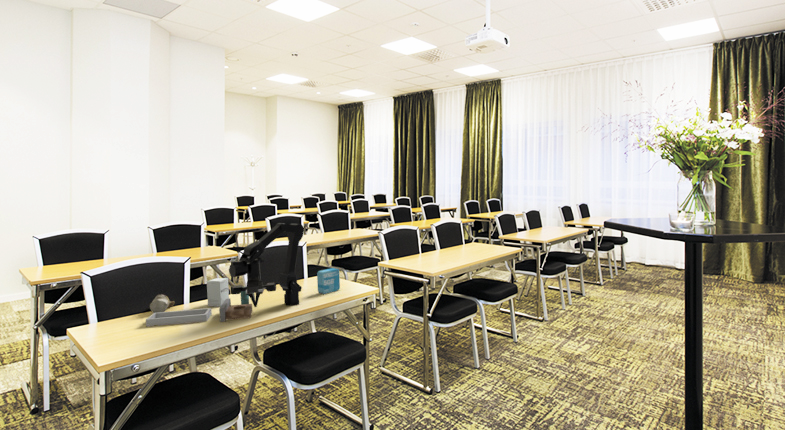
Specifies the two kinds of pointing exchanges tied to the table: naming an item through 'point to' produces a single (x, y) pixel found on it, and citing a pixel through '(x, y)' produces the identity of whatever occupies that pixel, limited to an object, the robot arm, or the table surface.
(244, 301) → the dowel
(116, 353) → the table surface
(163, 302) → the ceramic sculpture
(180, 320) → the rectangular open frame
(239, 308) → the pocket block
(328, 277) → the data package
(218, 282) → the supplement box
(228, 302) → the backstop wall
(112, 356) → the table surface
